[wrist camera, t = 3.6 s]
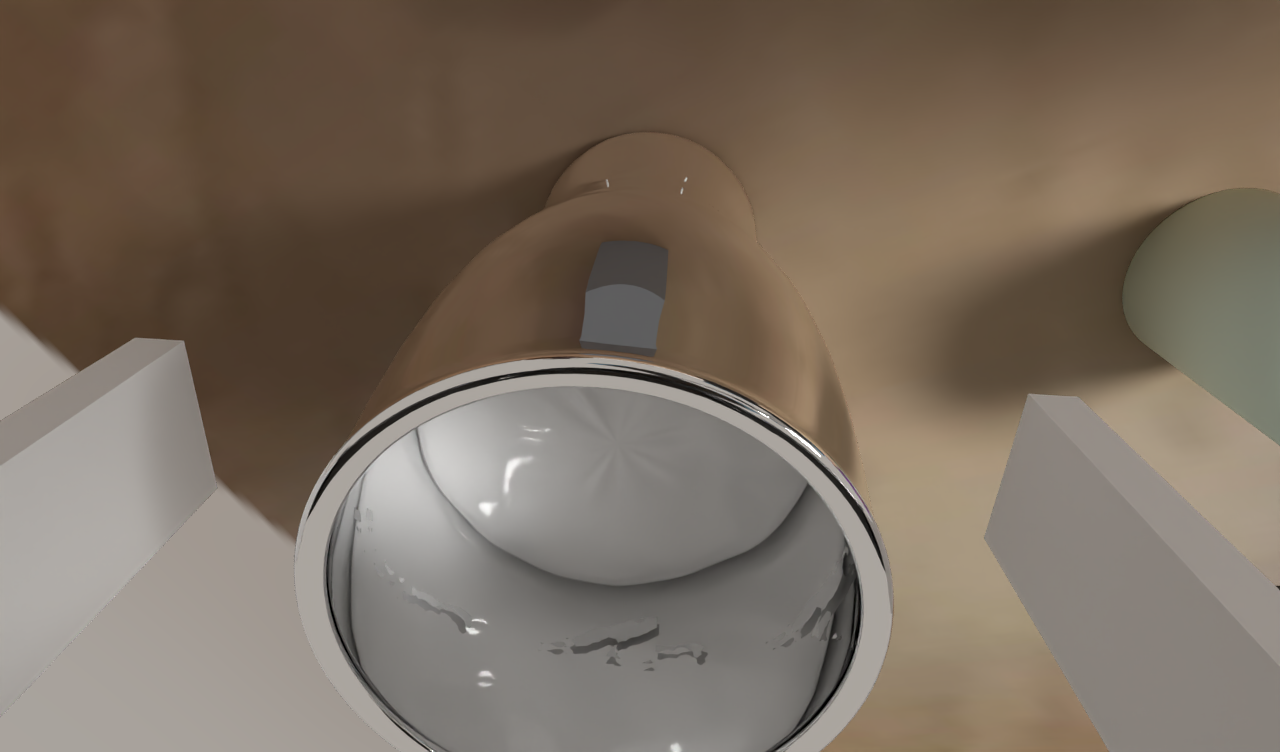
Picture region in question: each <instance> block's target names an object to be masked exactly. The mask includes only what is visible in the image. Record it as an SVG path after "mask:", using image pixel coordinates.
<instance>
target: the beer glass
mask: <svg viewBox="0 0 1280 752" xmlns="http://www.w3.org/2000/svg"><path fill="white" fill-rule="evenodd" d="M294 582H295V592H296V599H297V605H298V609H299V613H300V617H301V620H302V624H303V627H304V630H305V633H306V636H307V639H308V641H309V643H310V646H311V648H312V650H313V652H314V654H315V656H316V658H317V660H318V662H319V664H320V666H321V668H322V670H323V671H324V673H325V674H326V676H327V678H328V679H329V681H330V682H331V684H332V685H333V686H334V688H335V689H336V690H337V692H338V693H339V694H340V696H341V697H342V698H343V699H344V701H345V702H346V703H347V704H348V705H349V707H350V708H351V709H352V710H353V711H354V712H355V713H356V714H357V715H358V716H359V717H360V718H361V719H362V720H363V721H364V722H365V723H366V724H367V725H368V726H369V727H370V728H371V729H372V730H373V731H375V732H376V733H377V734H378V735H379V736H380V737H381V738H383V739H384V740H385V741H386V742H388V743H389V744H390V745H392V746H393V747H394V748H395V749H397V750H398V751H400V752H820V751H822V750H823V749H824V748H825V747H826V746H827V745H828V744H829V743H831V742H832V741H833V740H834V739H835V738H836V737H837V736H838V735H839V734H840V733H841V731H842V730H843V729H844V728H845V727H846V726H847V725H848V723H849V722H850V721H851V720H852V719H853V717H854V716H855V715H856V713H857V712H858V711H859V709H860V708H861V706H862V705H863V703H864V702H865V700H866V699H867V697H868V695H869V694H870V692H871V690H872V688H873V686H874V684H875V682H876V680H877V678H878V676H879V674H880V671H881V669H882V666H883V663H884V661H885V658H886V655H887V651H888V647H889V643H890V638H891V633H892V626H893V616H894V591H893V580H892V573H891V568H890V563H889V559H888V555H887V551H886V548H885V545H884V542H883V539H882V536H881V534H880V531H879V528H878V526H877V524H876V522H875V518H874V514H873V510H872V506H871V501H870V496H869V491H868V486H867V481H866V476H865V471H864V467H863V463H862V458H861V454H860V450H859V446H858V442H857V438H856V434H855V430H854V426H853V422H852V418H851V414H850V411H849V407H848V404H847V401H846V398H845V395H844V392H843V389H842V386H841V383H840V380H839V377H838V374H837V371H836V368H835V365H834V362H833V360H832V357H831V354H830V352H829V350H828V347H827V345H826V343H825V341H824V339H823V337H822V335H821V333H820V331H819V329H818V327H817V325H816V323H815V321H814V319H813V317H812V315H811V313H810V311H809V309H808V307H807V305H806V303H805V302H804V300H803V298H802V296H801V295H800V293H799V292H798V290H797V289H796V287H795V286H794V284H793V283H792V282H791V280H790V279H789V278H788V276H787V275H786V274H785V273H784V272H783V270H782V269H781V268H780V267H779V266H778V265H777V263H776V262H775V261H774V260H773V259H772V258H771V256H770V255H769V254H768V253H767V252H766V251H765V250H764V248H763V247H762V246H761V245H760V244H759V243H758V242H757V236H756V225H755V219H754V214H753V211H752V207H751V204H750V201H749V199H748V196H747V194H746V192H745V190H744V188H743V187H742V185H741V183H740V182H739V180H738V179H737V177H736V176H735V174H734V173H733V172H732V171H731V170H730V168H729V167H728V166H727V165H726V164H725V163H724V162H723V161H722V160H721V159H719V158H718V157H717V156H716V155H715V154H713V153H712V152H710V151H709V150H707V149H706V148H704V147H703V146H701V145H699V144H697V143H695V142H693V141H690V140H688V139H685V138H682V137H679V136H675V135H671V134H666V133H657V132H638V133H629V134H624V135H620V136H616V137H613V138H610V139H607V140H605V141H603V142H601V143H599V144H597V145H595V146H593V147H592V148H590V149H589V150H587V151H586V152H584V153H583V154H582V155H580V156H579V157H578V158H577V159H576V160H575V161H574V162H573V163H572V164H571V165H570V166H569V167H568V168H567V169H566V170H565V171H564V172H563V173H562V175H561V176H560V177H559V179H558V180H557V182H556V183H555V185H554V187H553V189H552V191H551V193H550V195H549V197H548V199H547V202H546V205H545V208H544V209H542V210H540V211H538V212H537V213H535V214H533V215H532V216H530V217H528V218H527V219H525V220H523V221H522V222H520V223H519V224H517V225H515V226H514V227H512V228H511V229H509V230H507V231H506V232H504V233H503V234H501V235H500V236H498V237H497V238H496V239H494V240H493V241H492V242H491V243H489V244H488V245H487V246H486V247H484V248H483V249H482V250H481V251H480V252H479V253H478V254H477V255H476V256H475V257H474V258H473V259H472V260H471V261H470V262H469V263H468V264H467V265H466V266H465V267H464V268H463V269H462V271H461V272H460V273H459V274H458V275H457V276H456V277H455V278H454V279H453V280H452V281H451V282H450V283H449V284H448V285H447V286H446V287H445V288H444V289H443V291H442V292H441V293H440V294H439V295H438V296H437V298H436V299H435V300H434V302H433V303H432V304H431V306H430V307H429V308H428V310H427V311H426V313H425V314H424V315H423V317H422V318H421V319H420V321H419V322H418V324H417V325H416V326H415V328H414V329H413V331H412V332H411V333H410V335H409V336H408V337H407V339H406V340H405V342H404V343H403V345H402V346H401V348H400V349H399V351H398V353H397V354H396V356H395V358H394V359H393V361H392V363H391V364H390V366H389V367H388V369H387V371H386V372H385V374H384V376H383V377H382V379H381V381H380V382H379V384H378V386H377V387H376V389H375V391H374V392H373V394H372V396H371V397H370V399H369V401H368V403H367V405H366V407H365V408H364V410H363V412H362V414H361V416H360V417H359V419H358V421H357V423H356V425H355V426H354V428H353V430H352V432H351V433H350V435H349V437H348V438H347V440H346V442H345V443H344V444H343V445H342V446H341V447H340V448H339V450H338V451H337V452H336V453H335V455H334V456H333V457H332V458H331V460H330V461H329V463H328V464H327V466H326V467H325V469H324V470H323V472H322V473H321V475H320V477H319V478H318V480H317V482H316V484H315V486H314V488H313V490H312V492H311V494H310V496H309V499H308V501H307V503H306V506H305V509H304V512H303V515H302V518H301V522H300V525H299V529H298V534H297V539H296V546H295V555H294Z"/></svg>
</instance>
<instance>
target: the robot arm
mask: <svg viewBox="0 0 1280 752" xmlns="http://www.w3.org/2000/svg"><path fill="white" fill-rule="evenodd" d="M216 489H217V484H216V479H215V475H214V470H213V466H212V462H211V457H210V453H209V449H208V444H207V440H206V435H205V431H204V427H203V422H202V418H201V413H200V409H199V405H198V400H197V396H196V392H195V387H194V383H193V378H192V374H191V370H190V365H189V361H188V356H187V352H186V348H185V343H184V341H181V340H165V339H149V338H134V339H132V340H131V341H129V342H127V343H126V344H124V345H123V346H121V347H119V348H118V349H116V350H114V351H113V352H111V353H110V354H108V355H106V356H105V357H103V358H101V359H100V360H98V361H97V362H95V363H93V364H92V365H90V366H88V367H87V368H85V369H84V370H82V371H80V372H79V373H77V374H75V375H74V376H72V377H71V378H69V379H67V380H66V381H64V382H62V383H61V384H59V385H58V386H56V387H54V388H53V389H51V390H49V391H48V392H46V393H45V394H43V395H41V396H40V397H38V398H36V399H35V400H33V401H32V402H30V403H28V404H27V405H25V406H24V407H22V408H20V409H19V410H17V411H15V412H14V413H12V414H10V415H9V416H7V417H5V418H4V419H2V420H1V421H0V717H1V716H2V715H3V714H4V713H5V712H6V711H7V710H8V709H9V708H10V707H11V706H12V705H13V704H14V703H15V701H16V700H17V699H18V698H19V697H20V696H21V695H22V694H23V693H24V692H25V691H26V690H27V689H28V688H29V687H30V686H31V685H32V683H33V682H34V681H35V680H36V679H37V678H38V677H39V676H40V675H41V674H42V673H43V672H44V671H45V670H46V669H47V668H48V667H49V666H50V664H51V663H52V662H53V661H54V660H55V659H56V658H57V657H58V656H59V655H60V654H61V653H62V652H63V651H64V650H65V649H66V648H67V647H68V646H69V644H70V643H71V642H72V641H73V640H74V639H75V638H76V637H77V636H78V635H79V634H80V633H81V632H82V630H84V629H85V628H86V626H87V625H88V624H89V623H90V622H91V621H92V620H93V619H94V618H95V617H96V616H97V615H98V614H99V613H100V612H101V611H102V610H103V609H104V607H105V606H106V605H107V604H108V603H109V602H110V601H111V600H112V599H113V598H114V596H116V595H117V594H118V593H119V592H120V591H121V590H122V588H123V587H124V586H125V585H126V584H127V583H128V582H129V581H130V580H131V579H132V578H133V577H134V576H135V575H136V574H137V573H138V572H139V571H140V569H141V568H142V567H143V566H144V565H145V564H146V563H147V562H148V561H149V560H150V559H151V558H152V557H153V556H154V555H155V554H156V553H157V551H158V550H159V549H160V548H161V547H162V546H163V545H164V544H165V543H166V542H167V541H168V540H169V539H170V538H171V537H172V536H173V534H175V532H176V531H177V530H178V529H179V528H180V527H181V526H182V525H183V524H184V523H185V522H186V521H187V520H188V519H189V518H190V516H192V514H193V513H194V512H195V511H196V510H197V509H198V508H199V507H200V506H201V505H202V504H203V503H204V502H205V501H206V500H207V499H208V498H209V497H210V496H211V494H212V493H213V492H214V491H215V490H216ZM984 539H985V541H986V542H987V544H988V546H989V547H990V549H991V551H992V552H993V554H994V556H995V558H996V559H997V561H998V563H999V564H1000V566H1001V568H1002V570H1003V571H1004V573H1005V575H1006V576H1007V578H1008V580H1009V581H1010V583H1011V585H1012V587H1013V588H1014V590H1015V592H1016V593H1017V595H1018V597H1019V598H1020V600H1021V602H1022V604H1023V605H1024V607H1025V609H1026V610H1027V612H1028V614H1029V616H1030V617H1031V619H1032V621H1033V622H1034V624H1035V626H1036V627H1037V629H1038V631H1039V633H1040V634H1041V636H1042V638H1043V639H1044V641H1045V643H1046V644H1047V646H1048V648H1049V650H1050V651H1051V653H1052V655H1053V656H1054V658H1055V660H1056V662H1057V663H1058V665H1059V667H1060V668H1061V670H1062V672H1063V673H1064V675H1065V677H1066V679H1067V680H1068V682H1069V684H1070V685H1071V687H1072V689H1073V691H1074V692H1075V694H1076V696H1077V697H1078V699H1079V701H1080V702H1081V704H1082V706H1083V708H1084V709H1085V711H1086V713H1087V714H1088V716H1089V718H1090V719H1091V721H1092V723H1093V725H1094V726H1095V728H1096V730H1097V731H1098V733H1099V735H1100V737H1101V738H1102V740H1103V742H1104V743H1105V745H1106V747H1107V748H1108V750H1109V752H1280V586H1275V585H1274V584H1273V583H1272V582H1271V581H1270V580H1269V579H1268V578H1267V577H1265V576H1264V575H1263V574H1262V573H1261V572H1260V571H1259V570H1258V569H1257V568H1256V567H1255V566H1254V565H1253V564H1252V563H1251V562H1250V561H1249V560H1248V559H1247V558H1246V557H1245V556H1244V555H1243V554H1242V553H1240V552H1239V551H1238V550H1237V549H1236V548H1235V547H1234V546H1233V545H1232V544H1231V543H1230V542H1229V541H1228V540H1227V539H1226V538H1225V537H1224V536H1223V535H1222V534H1221V533H1220V532H1219V531H1218V530H1217V529H1216V528H1214V527H1213V526H1212V525H1211V524H1210V523H1209V522H1208V521H1207V520H1206V519H1205V518H1204V517H1203V516H1202V515H1201V514H1200V513H1199V512H1198V511H1197V510H1196V509H1195V508H1194V507H1193V506H1192V505H1191V504H1189V503H1188V502H1187V501H1186V500H1185V499H1184V498H1183V497H1182V496H1181V495H1180V494H1179V493H1178V492H1177V491H1176V490H1175V489H1174V488H1173V487H1172V486H1171V485H1170V484H1169V483H1168V482H1167V481H1166V480H1164V479H1163V478H1162V477H1161V476H1160V475H1159V474H1158V473H1157V472H1156V471H1155V470H1154V469H1153V468H1152V467H1151V466H1150V465H1149V464H1148V463H1147V462H1146V461H1145V460H1144V459H1143V458H1142V457H1141V456H1139V455H1138V454H1137V453H1136V452H1135V451H1134V450H1133V449H1132V448H1131V447H1130V446H1129V445H1128V444H1127V443H1126V442H1125V441H1124V440H1123V439H1122V438H1121V437H1120V436H1119V435H1118V434H1117V433H1116V432H1114V431H1113V430H1112V429H1111V428H1110V427H1109V426H1108V425H1107V424H1106V423H1105V422H1104V421H1103V420H1102V419H1101V418H1100V417H1099V416H1098V415H1097V414H1096V413H1095V412H1094V411H1093V410H1092V409H1091V408H1089V407H1088V406H1087V405H1086V404H1085V403H1084V402H1083V401H1082V400H1081V399H1080V398H1079V397H1073V396H1057V395H1041V394H1028V396H1027V400H1026V403H1025V406H1024V409H1023V413H1022V416H1021V419H1020V423H1019V426H1018V429H1017V432H1016V436H1015V439H1014V442H1013V445H1012V449H1011V452H1010V455H1009V458H1008V462H1007V465H1006V468H1005V471H1004V475H1003V478H1002V481H1001V484H1000V488H999V491H998V494H997V497H996V501H995V504H994V507H993V510H992V514H991V517H990V520H989V523H988V527H987V530H986V533H985V536H984Z"/></svg>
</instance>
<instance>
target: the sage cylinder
mask: <svg viewBox="0 0 1280 752" xmlns="http://www.w3.org/2000/svg"><path fill="white" fill-rule="evenodd" d="M1122 304H1123V310H1124V315H1125V318H1126V320H1127V323H1128V325H1129V327H1130V328H1131V330H1132V332H1133V333H1134V334H1135V335H1136V337H1137V338H1138V339H1139V340H1140V341H1141V342H1143V343H1144V344H1145V345H1146V346H1147V347H1149V348H1150V349H1151V350H1153V351H1154V352H1155V353H1157V354H1158V355H1159V356H1161V357H1162V358H1163V359H1165V360H1166V361H1167V362H1169V363H1170V364H1171V365H1173V366H1174V367H1175V368H1177V369H1178V370H1179V371H1181V372H1182V373H1184V374H1185V375H1186V376H1188V377H1189V378H1190V379H1192V380H1193V381H1194V382H1196V383H1197V384H1198V385H1200V386H1201V387H1202V388H1204V389H1205V390H1206V391H1208V392H1209V393H1210V394H1212V395H1213V396H1214V397H1216V398H1217V399H1218V400H1220V401H1221V402H1222V403H1224V404H1225V405H1226V406H1228V407H1229V408H1230V409H1232V410H1233V411H1234V412H1236V413H1237V414H1238V415H1240V416H1241V417H1242V418H1244V419H1245V420H1246V421H1248V422H1249V423H1250V424H1252V425H1253V426H1254V427H1256V428H1257V429H1258V430H1260V431H1261V432H1262V433H1264V434H1265V435H1266V436H1268V437H1269V438H1270V439H1272V440H1273V441H1274V442H1276V443H1277V444H1278V445H1280V194H1279V193H1276V192H1272V191H1269V190H1264V189H1257V188H1237V189H1230V190H1224V191H1220V192H1216V193H1213V194H1210V195H1207V196H1204V197H1201V198H1199V199H1197V200H1195V201H1193V202H1191V203H1189V204H1187V205H1185V206H1184V207H1182V208H1180V209H1179V210H1177V211H1176V212H1174V213H1173V214H1172V215H1170V216H1169V217H1168V218H1166V219H1165V220H1164V221H1163V222H1162V223H1160V224H1159V225H1158V226H1157V227H1156V228H1155V229H1154V230H1153V231H1152V232H1151V233H1150V234H1149V236H1148V237H1147V238H1146V239H1145V240H1144V242H1143V243H1142V244H1141V246H1140V247H1139V249H1138V250H1137V252H1136V254H1135V255H1134V257H1133V259H1132V261H1131V263H1130V265H1129V268H1128V270H1127V273H1126V277H1125V280H1124V285H1123V292H1122Z"/></svg>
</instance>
